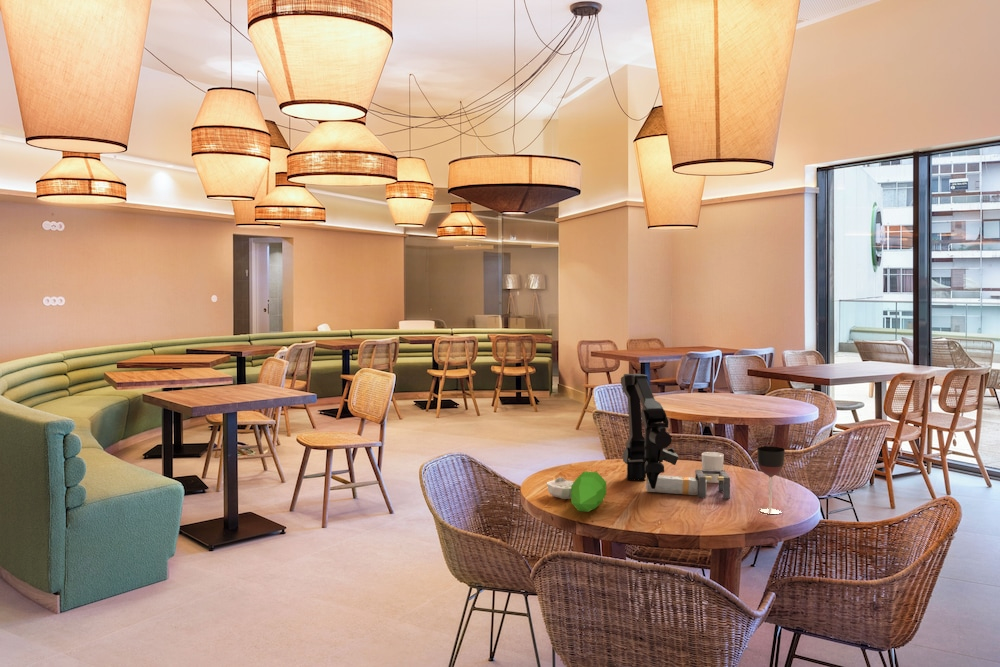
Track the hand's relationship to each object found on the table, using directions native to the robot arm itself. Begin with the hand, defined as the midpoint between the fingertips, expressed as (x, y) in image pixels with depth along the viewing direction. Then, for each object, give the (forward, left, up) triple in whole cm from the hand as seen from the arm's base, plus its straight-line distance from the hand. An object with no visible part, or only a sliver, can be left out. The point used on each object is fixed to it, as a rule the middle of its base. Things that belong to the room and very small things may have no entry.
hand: (652, 486), depth 256 cm
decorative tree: (-23, -23, -2) cm, 33 cm away
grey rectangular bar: (+8, 0, -2) cm, 8 cm away
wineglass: (+35, -19, -2) cm, 40 cm away
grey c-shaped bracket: (+20, 0, -2) cm, 20 cm away
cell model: (-31, -10, -2) cm, 33 cm away
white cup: (+23, +19, -2) cm, 30 cm away
